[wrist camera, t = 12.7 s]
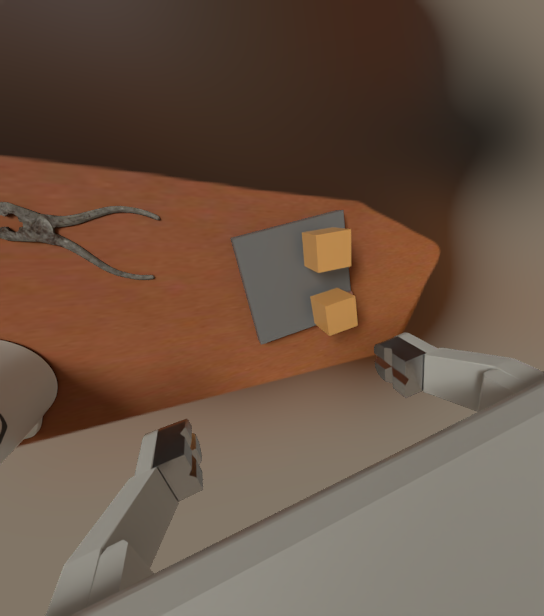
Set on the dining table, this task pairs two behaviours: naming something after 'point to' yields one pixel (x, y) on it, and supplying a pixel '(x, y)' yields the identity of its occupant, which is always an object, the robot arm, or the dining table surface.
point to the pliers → (43, 226)
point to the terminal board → (293, 281)
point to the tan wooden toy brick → (327, 249)
